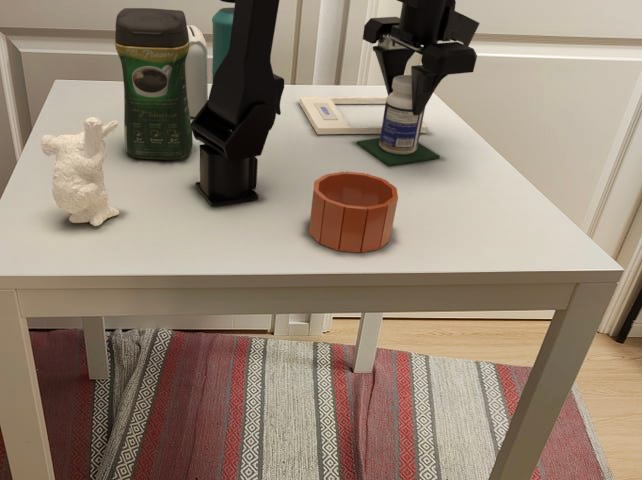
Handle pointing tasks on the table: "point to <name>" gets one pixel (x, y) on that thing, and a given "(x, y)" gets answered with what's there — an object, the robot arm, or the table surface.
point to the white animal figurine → (81, 172)
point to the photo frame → (339, 114)
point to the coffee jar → (154, 82)
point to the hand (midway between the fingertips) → (404, 108)
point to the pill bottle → (400, 119)
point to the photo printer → (196, 71)
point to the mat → (395, 159)
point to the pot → (352, 211)
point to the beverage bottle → (221, 34)
